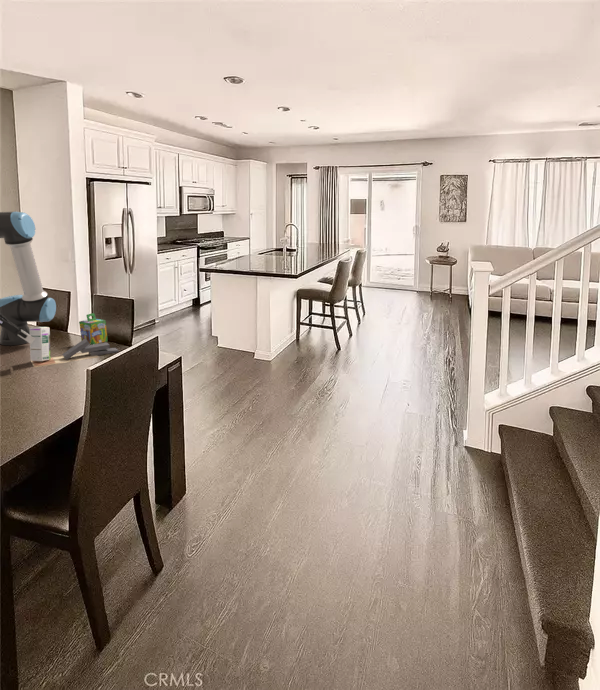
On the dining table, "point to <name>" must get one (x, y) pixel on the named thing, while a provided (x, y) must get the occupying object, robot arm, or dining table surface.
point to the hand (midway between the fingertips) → (32, 341)
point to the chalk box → (93, 330)
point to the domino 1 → (75, 349)
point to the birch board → (63, 359)
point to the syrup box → (40, 344)
